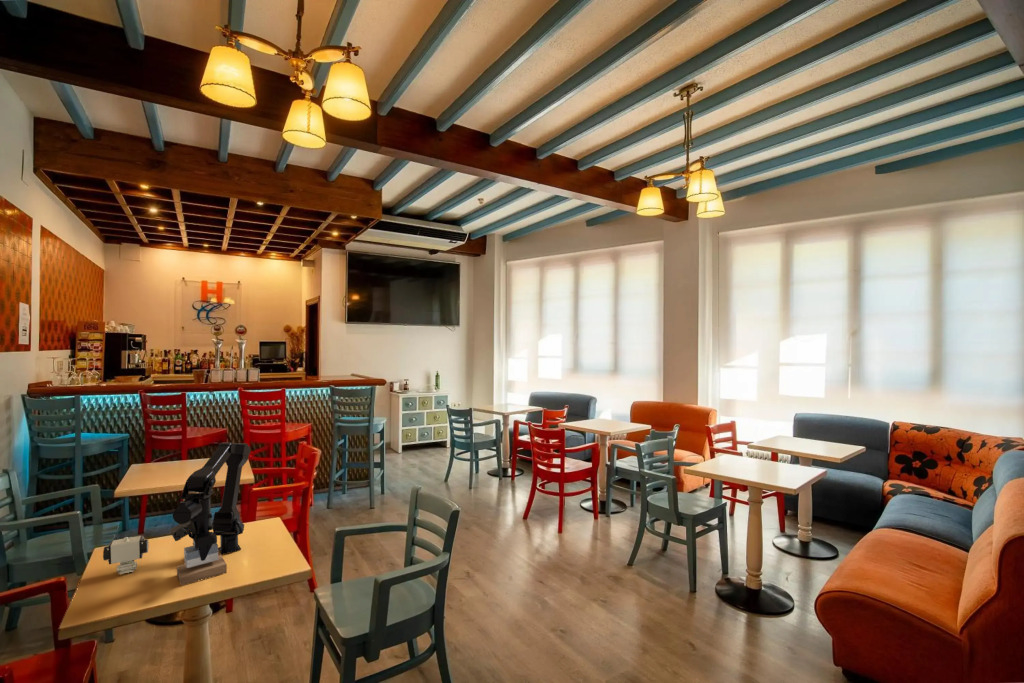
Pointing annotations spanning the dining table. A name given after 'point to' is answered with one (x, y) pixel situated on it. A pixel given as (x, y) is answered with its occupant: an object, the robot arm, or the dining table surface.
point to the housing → (194, 558)
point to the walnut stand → (201, 571)
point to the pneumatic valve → (126, 552)
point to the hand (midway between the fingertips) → (201, 557)
